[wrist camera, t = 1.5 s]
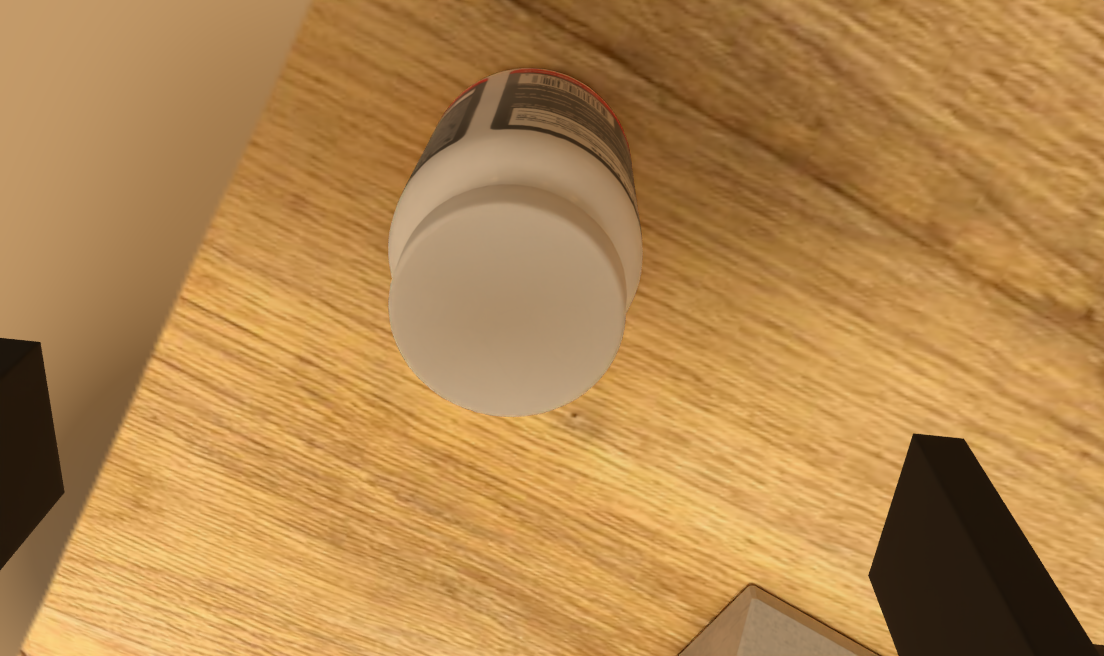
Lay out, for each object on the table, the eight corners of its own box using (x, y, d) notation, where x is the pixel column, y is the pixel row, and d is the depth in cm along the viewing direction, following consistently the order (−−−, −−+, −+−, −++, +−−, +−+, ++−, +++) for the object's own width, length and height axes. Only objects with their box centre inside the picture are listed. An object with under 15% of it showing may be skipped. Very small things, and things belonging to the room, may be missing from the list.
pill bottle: (478, 280, 29) (427, 472, 20) (399, 105, 27) (304, 236, 18) (658, 219, 28) (687, 394, 19) (592, 32, 26) (592, 132, 17)
